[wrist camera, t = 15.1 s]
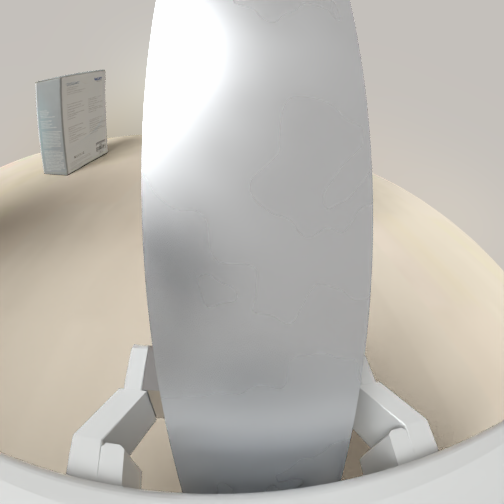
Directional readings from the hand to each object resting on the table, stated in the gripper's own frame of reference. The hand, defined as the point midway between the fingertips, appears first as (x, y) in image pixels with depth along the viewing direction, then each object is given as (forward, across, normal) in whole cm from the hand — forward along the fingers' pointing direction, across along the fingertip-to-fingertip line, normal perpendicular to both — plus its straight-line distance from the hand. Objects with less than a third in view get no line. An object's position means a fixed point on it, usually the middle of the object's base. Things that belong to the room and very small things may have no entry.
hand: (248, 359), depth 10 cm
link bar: (-4, 0, 0) cm, 4 cm away
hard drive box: (+56, -32, -12) cm, 66 cm away
